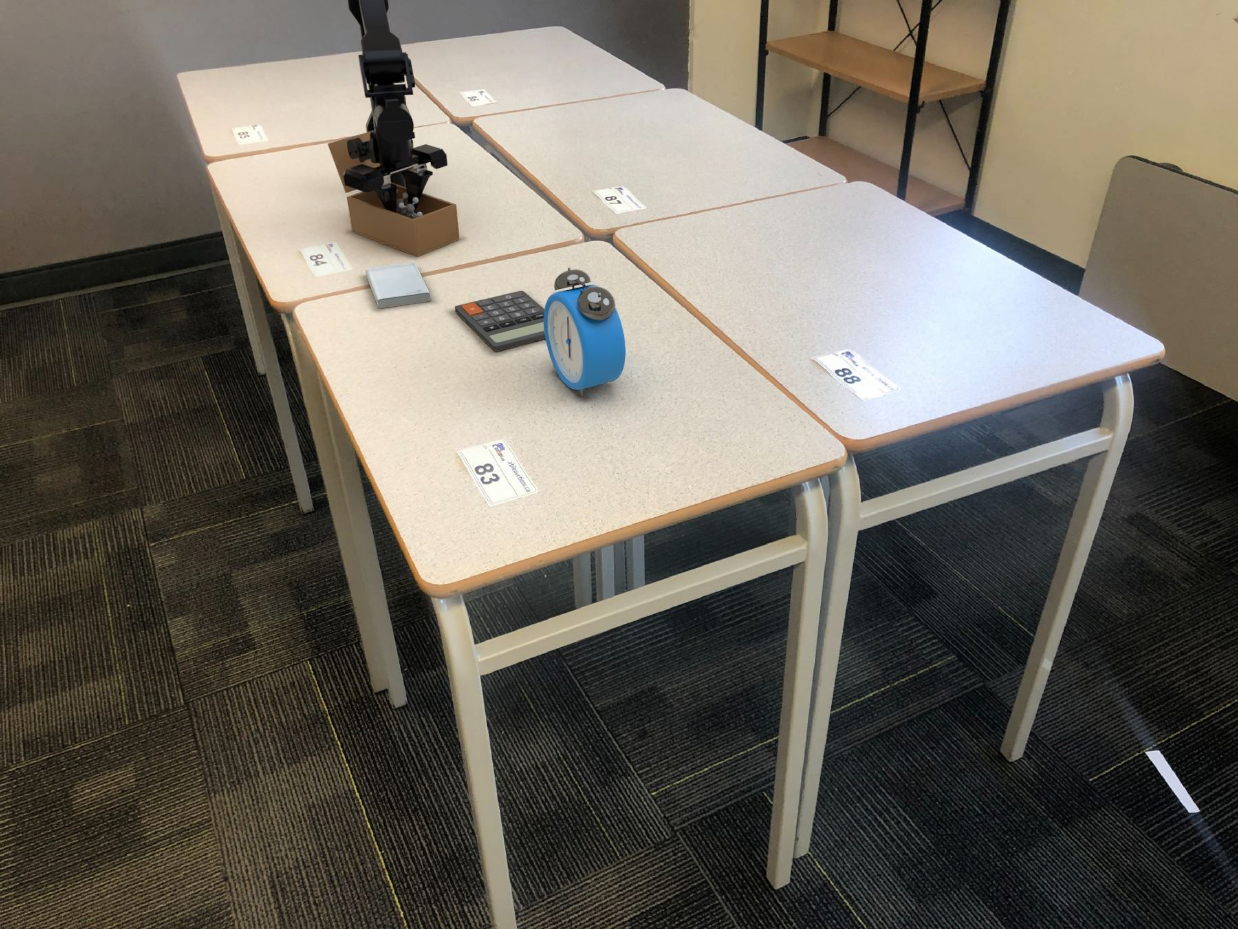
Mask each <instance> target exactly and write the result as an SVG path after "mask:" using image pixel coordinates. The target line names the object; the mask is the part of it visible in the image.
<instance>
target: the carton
mask: <svg viewBox="0 0 1238 929" xmlns="http://www.w3.org/2000/svg"><path fill="white" fill-rule="evenodd" d="M392 184H394V183H392ZM395 185H397V184H395ZM397 190H398V192H397V199H402V198H403V196H402V195H403V193H407V192H406V187H403V186H400V185H397ZM346 202H347V207H348V215H349V220H350V227H351V232H352V233H355V234H357V235H360V236H362V237H365V238H367V239H369V240H372V241H375V242H378V243H381V244H383V245H386V246H388V247H391V248H394V249H395V250H399V251H401V252H403V253H407V254H408V255H412V256H414V257H417V258H418V257H421V256H423V255H426V254H428V253H430V252H433V251H434V250H437V249H439V248H443V247H445V246H447V245H450V244H452V243H455V242H457V241H459V240H460V239H461V238H460V230H459V219H458V206H457V203H454V202H450V201H447V200H445V199H441V198H438V197H436V196H433V195H430V194H427V193H424V192H423V193H422V195H421V198H420V201H419V203H418V206H417V209H416V211H415V212H414V213H416V214H417V213H418V212H421V213H422V214H423V216H420V217H418V218H415V219H413V218H412V216H410V217H409V218H408V217H406V216H403V215H402V213H401V211H399V212H398V213H394V212H392V211H389V210H386V209H385V208H384V206H383V204H382V202H381V200H380V198H379V197H378V195H377V194H376V192H375V191H371V192H362V191H360V192H356V193H354V194H351V195H349V196H346ZM403 202H404V206H406V205H407V204H408V199H407V198H406V199H405V198H404V200H403ZM404 209H405V208H404ZM401 210H402V209H401ZM411 214H412V213H411ZM412 215H413V214H412Z"/></svg>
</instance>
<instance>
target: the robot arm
mask: <svg viewBox="0 0 1238 929" xmlns="http://www.w3.org/2000/svg"><path fill="white" fill-rule="evenodd" d="M346 3H347V4H346V5H347V9H348V12H349V13H350V14H351V16H352V17H353V18H354V19H355V21H356V23H357V24H358V25H359V32H360V48H361V54H358V56H357V57H358V64H359V72H360V78H361V82H362V87H363V88H362V89H363V93H364V94H363V95H364V97H365V99H369V102H370V108H371V111H370V113H369V116H368V118H367V120H366V123H365V131H366V132H365V133H367V132H370V131H371V132H370V140H368V141H365V142H362V140H361V139H360V138H359V137H358V138H355V139H351V140H348V141H347V149H348V153H349V156H350V158H352V159H356V158H359V161H360V163H362V162H364V161H365V160H369V159H371V162H372V163H375V164H376V163H379V164H380V166H379V167H375V168H373V167H370V166H367V165H364V164H361V165H357V166H354V167H351V168H348V169H346V170H345V172H344V175H343V177H344V183H345V186H348V187H351V188H354V189H356V190H355V191H360V192H371V191H375V192H376V194H377V195H378V197H379V198H380V200H381V202H382V204H383V206H384V208H385V209H386V210H389V211H392V212H394V213H396V209H397V185H400V186H403V187H406V192H407V194H408V198H407V199H408V204H412V203H413V198H415V197H416V198H418V200H419V201H420V198H421V195H422V193H424V190H425V188H426V185H427V184H428V182H429V180H430V178H431V177H432V176H433V175H434V172H433V171H432V170H429V169H428V165H427V164H429V163H430V166H431V167H432V168H433V169H435V170H438V169H442V168H445V167H448V166H449V164H448V155H447V153H446V152H445V150H444V149H443V148H441V147H438V146H434V145H430V144H427V143H425V144H424V143H423V144H421V145H419V146H418V145H417V146H415V147H414V140H415V139H416V133H415V131H414V129H415V124H414V120H413V117H412V115H411V112H410V109H409V108H408V105H407V97H406V96H414V88H416V80H415V75H414V69H413V65H412V60H411V59H410V57H409V54H408V53H407V51H404V52H403V48H402V44H401V40H400V38H399V37H398V36H396V35H395V33H393V32H391V28H390V24H389V19H388V11H389V10H390V9H389V8H390V5H389V0H346ZM405 82H406V83H405ZM392 183H394V184H392ZM395 184H397V185H395ZM419 201H418V203H419ZM418 203H415V204H414V205H413V206H414V208H415V210H414V212H415V211H416V209H417V206H418Z"/></svg>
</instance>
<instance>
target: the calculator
mask: <svg viewBox="0 0 1238 929" xmlns="http://www.w3.org/2000/svg"><path fill="white" fill-rule="evenodd" d="M544 309H545V307H543V306H542V305H540V304H539V302H537V301H536V300H535V299H534V298H532V297H531V296H530V295H529V294H528V293H527V292H525V291H524V290H518V291H513V292H508V293H505V294H501V295H496V296H492V297H488V298H483V299H478V300H475V301H469V302H467V303H462V304H458V305H455V306H454V312H455V313H456V314H457V315H458V316H459V317H460V318H461V319H462V320H463V321H464V322H465V323H466V324H467V325H468V326H469V327H470V328H471V329H472V330H473V331H474V333H476V335H478V336H479V338H481V339H482V340H483V342H485V344H486V345H488V347H489V348H491V350H492V351H494V352H500V351H503V350H506V349H511V348H514V347H518V346H523V345H526V344H530V343H534V342H538V341H542V340H546V339H545V333H544Z"/></svg>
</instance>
